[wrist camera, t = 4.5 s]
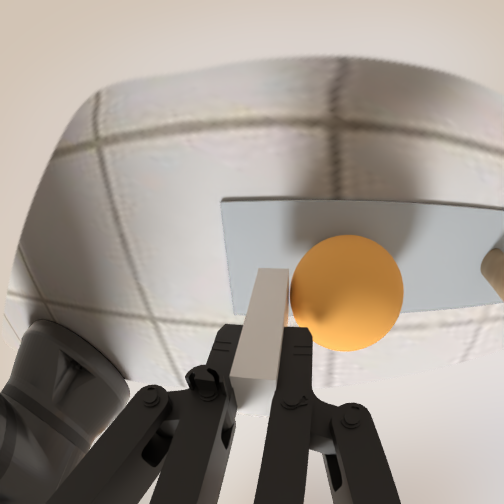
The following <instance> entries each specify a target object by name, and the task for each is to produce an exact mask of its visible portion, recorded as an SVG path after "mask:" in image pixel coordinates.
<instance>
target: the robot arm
mask: <svg viewBox="0 0 504 504" xmlns="http://www.w3.org/2000/svg"><path fill="white" fill-rule="evenodd" d="M288 314H289V269H281V268H258V272H257V276H256V280H255V284H254V287H253V291H252V295H251V298H250V302H249V306H248V310H247V313H246V317H245V321H244V324H243V325H233V324H225V325H224V326H223V327H222V328H221V329H220V330H219V331H218V332H217V335H216V338H215V341H214V344H213V346H212V350H211V352H210V355H209V358H208V360H207V363H206V365H200V366H197V367H194V368H193V369H191V370H190V371H188V373H187V374H186V376H185V379H186V381H187V383H188V386H189V389H186V390H181V391H170V392H167V391H166V390H165V389H164V388H163V387H161V386H158V385H148V386H145V387H143V388H141V389H140V390H139V391H138V392H137V393H136V394H135V396H134V397H133V398H132V399H131V400H130V402H129V403H128V404H127V402H128V399H129V397H130V390H129V388H128V385H127V383H126V381H125V380H124V378H123V377H122V375H121V374H120V373H119V371H118V370H117V369H116V368H115V367H114V366H113V365H112V364H111V363H110V362H109V361H108V360H107V359H106V358H105V357H104V356H103V355H102V354H101V353H100V352H99V351H97V350H96V349H95V348H94V347H93V346H91V345H90V344H89V343H87V342H86V341H85V340H83V339H82V338H81V337H79V336H78V335H76V334H75V333H73V332H71V331H70V330H68V329H66V328H64V327H62V326H60V325H58V324H56V323H53V322H50V321H46V320H37V321H35V322H34V323H33V324H32V325H31V326H30V327H29V328H28V330H27V331H26V332H25V333H24V335H23V337H22V342H21V345H20V347H19V350H18V353H17V356H16V359H15V362H14V366H13V369H12V373H11V376H10V379H9V381H8V382H7V384H6V385H5V387H4V388H3V390H2V391H1V393H0V504H138V503H139V501H140V500H141V498H142V497H143V496H144V494H145V493H146V492H147V490H148V489H149V487H150V486H151V485H152V483H153V482H154V480H155V479H156V477H157V476H158V475H159V473H160V475H159V478H158V481H157V484H156V486H155V489H154V492H153V495H152V498H151V501H150V504H217V502H218V498H219V494H220V490H221V486H222V482H223V478H224V474H225V470H226V466H227V462H228V458H229V454H230V449H231V445H232V441H233V436H234V433H235V428H236V421H235V416H236V412H237V411H238V414H240V415H249V416H259V417H269V422H268V428H267V435H266V440H265V446H264V452H263V457H262V464H261V469H260V473H259V479H258V484H257V489H256V494H255V499H254V504H303V502H304V494H305V486H306V476H307V466H308V454H309V449H311V450H314V451H317V452H320V453H322V455H323V459H324V464H325V468H326V472H327V477H328V481H329V486H330V490H331V495H332V499H333V504H401V502H400V499H399V496H398V493H397V489H396V486H395V483H394V481H393V477H392V474H391V471H390V468H389V465H388V462H387V459H386V456H385V453H384V450H383V447H382V445H381V442H380V439H379V436H378V433H377V430H376V428H375V425H374V422H373V419H372V417H371V414H370V413H369V411H368V410H367V408H365V407H364V406H363V405H361V404H357V403H346V404H343V405H341V406H339V407H337V406H335V405H331V404H328V403H325V402H323V401H321V400H320V399H318V398H317V397H316V396H315V394H314V393H313V390H312V346H313V336H312V334H311V332H310V331H309V329H308V327H287V324H288ZM126 404H127V405H126ZM115 418H116V419H115ZM114 419H115V420H114ZM113 420H114V421H113ZM112 421H113V422H112ZM111 422H112V423H111ZM110 424H111V425H110ZM109 425H110V426H109ZM108 426H109V427H108ZM107 427H108V428H107ZM106 428H107V430H106V431H105V432H104V433H103V434H102V436H101V437H100V438H99V439H98V440H97V442H96V443H95V444H94V445H93V447H92V448H91V449H90V447H91V445H92V443H93V441H94V440H95V438H97V437H98V436H99V435H100V434H101V433H102V432H103V431H104V430H105V429H106ZM89 449H90V450H89Z"/></svg>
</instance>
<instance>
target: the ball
mask: <svg viewBox="0 0 504 504" xmlns="http://www.w3.org/2000/svg"><path fill="white" fill-rule="evenodd" d="M403 297H404V286H403V280H402V276H401V272H400V270H399V268H398V265H397V263H396V262H395V260H394V259H393V257H392V256H391V255H390V254H389V252H388V251H387V250H386V249H384V248H383V247H382V246H381V245H379V244H378V243H376V242H375V241H372V240H370V239H368V238H365V237H362V236H357V235H339V236H334V237H331V238H328V239H326V240H323V241H321V242H320V243H318V244H316V245H315V246H314V247H312V248H311V249H310V250H309V251H308V252H307V253H306V254H305V255H304V256H303V257H302V259H301V260H300V262H299V263H298V265H297V267H296V269H295V271H294V273H293V276H292V280H291V285H290V304H291V309H292V312H293V315H294V318H295V320H296V322H297V324H298V325H299V327H308V329H309V331H310V332H311V334H312V336H313V341H314V342H315V343H317V344H318V345H321V346H323V347H325V348H328V349H331V350H335V351H356V350H360V349H363V348H366V347H368V346H370V345H372V344H374V343H376V342H377V341H379V340H380V339H381V338H383V337H384V336H385V335H386V334H387V333H388V332H389V331H390V329H391V328H392V327H393V325H394V324H395V322H396V320H397V318H398V316H399V314H400V311H401V308H402V304H403Z"/></svg>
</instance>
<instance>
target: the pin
mask: <svg viewBox="0 0 504 504" xmlns="http://www.w3.org/2000/svg"><path fill="white" fill-rule="evenodd" d="M480 270H481V274H482V275H483V276H484V277H485V279H486V280H487V281H488V282H489V284H490V285H491V286H492V287H493V289H494V290H495V291H496V293H497V294H498V295H499V297H500V298H501V299H502V301H503V302H504V253H503V252H502V251H501V250H500V249H498V248H494V249H492V250H490V251H489V252H488V253H487V254H486V255H485V257H484V258H483V260H482V263H481V267H480Z"/></svg>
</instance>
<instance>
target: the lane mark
mask: <svg viewBox="0 0 504 504" xmlns="http://www.w3.org/2000/svg"><path fill="white" fill-rule="evenodd" d="M220 206H221V215H222V224H223V232H224V240H225V249H226V257H227V265H228V272H229V280H230V288H231V295H232V302H233V310H234V315H246V313H247V310H248V306H249V302H250V298H251V295H252V291H253V287H254V284H255V280H256V276H257V272H258V268H281V269H289V314H288V316H294V315H293V312H292V309H291V304H290V285H291V280H292V276H293V273H294V271H295V269H296V267H297V265H298V263H299V262H300V260H301V259H302V257H303V256H304V255H305V254H306V253H307V252H308V251H309V250H310V249H311V248H312V247H314V246H315V245H316V244H318V243H320V242H321V241H323V240H326V239H328V238H331V237H334V236H339V235H357V236H362V237H365V238H368V239H370V240H372V241H375V242H376V243H378V244H379V245H381V246H382V247H383V248H384V249H386V250H387V251H388V252H389V254H390V255H391V256H392V257H393V259H394V260H395V262H396V263H397V265H398V268H399V270H400V272H401V276H402V280H403V286H404V297H403V304H402V308H401V311H400V313H409V312H423V311H435V310H446V309H456V308H465V307H474V306H482V305H490V304H497V303H504V302H503V301H502V299H501V298H500V297H499V295H498V294H497V293H496V291H495V290H494V289H493V287H492V286H491V285H490V284H489V282H488V281H487V280H486V279H485V277H484V276H483V275H482V274H481V270H480V267H481V263H482V260H483V258H484V257H485V255H486V254H487V253H488V252H489V251H490V250H492V249H494V248H498V249H500V250H501V251H502V252H503V253H504V210H496V209H487V208H477V207H466V206H454V205H441V204H426V203H409V202H388V201H358V200H252V201H221V202H220Z"/></svg>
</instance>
